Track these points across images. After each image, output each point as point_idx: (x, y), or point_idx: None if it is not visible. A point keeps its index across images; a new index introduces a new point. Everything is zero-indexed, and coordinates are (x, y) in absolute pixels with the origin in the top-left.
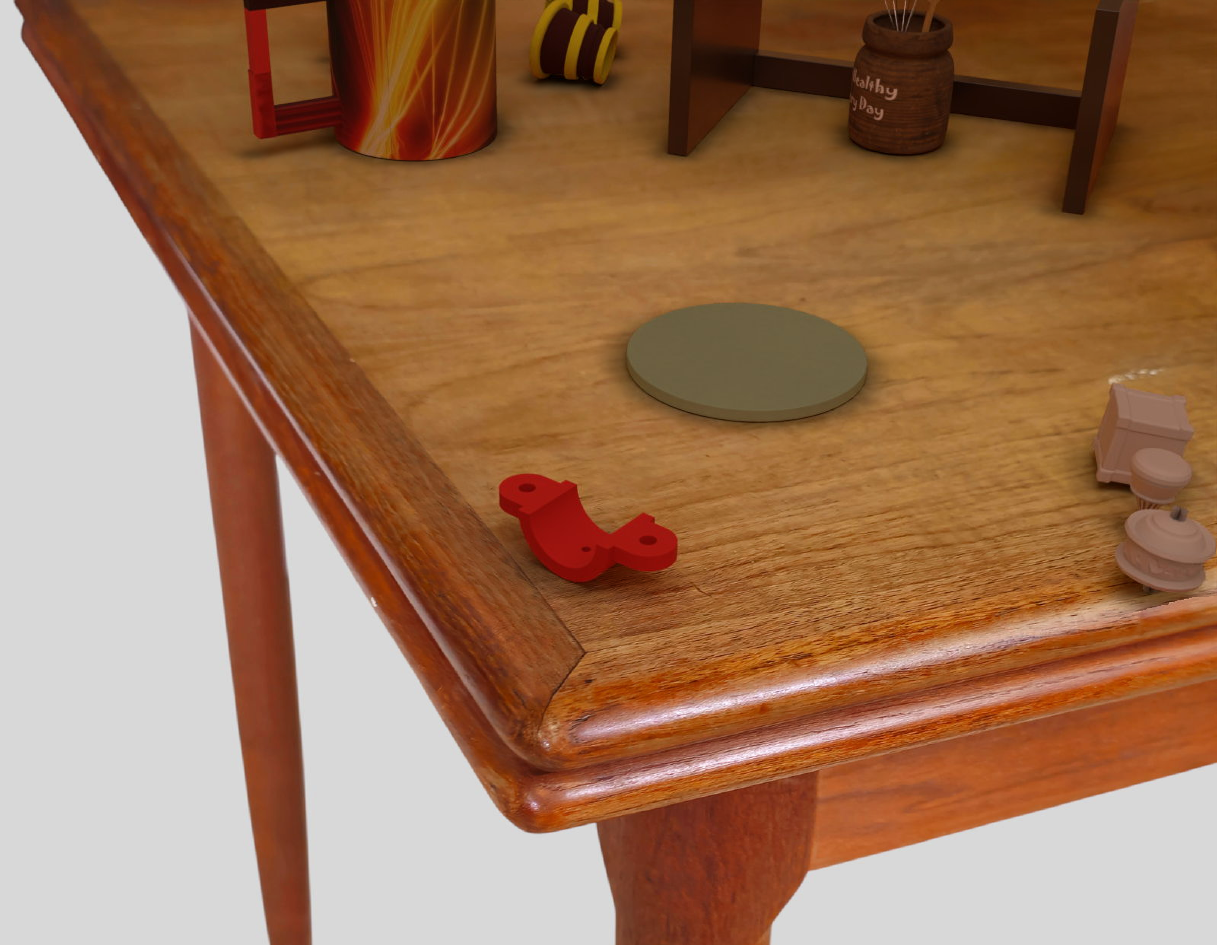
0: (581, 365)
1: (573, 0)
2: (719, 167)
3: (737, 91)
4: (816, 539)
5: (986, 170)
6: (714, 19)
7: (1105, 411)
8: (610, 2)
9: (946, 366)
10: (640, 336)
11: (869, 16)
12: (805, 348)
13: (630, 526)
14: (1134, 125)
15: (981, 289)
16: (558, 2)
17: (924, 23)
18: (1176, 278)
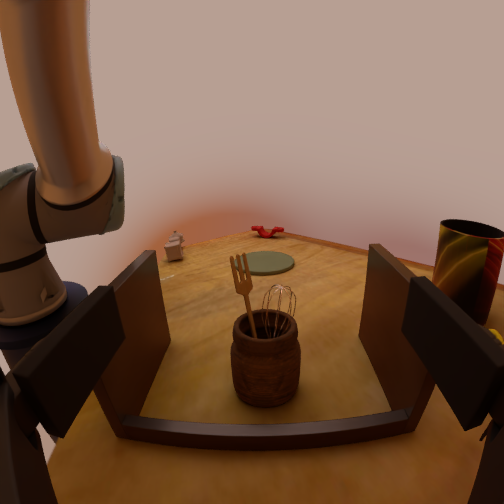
0: (300, 257)
1: None
2: (338, 333)
3: (387, 391)
4: (233, 243)
5: (206, 368)
6: (378, 300)
7: (180, 249)
8: None
9: (214, 272)
10: (291, 259)
11: (294, 322)
12: (250, 263)
13: (259, 227)
14: (101, 444)
15: (206, 295)
16: (495, 332)
17: (250, 309)
18: None
